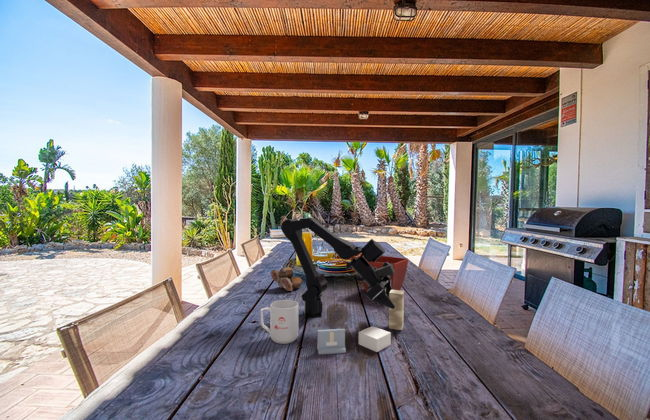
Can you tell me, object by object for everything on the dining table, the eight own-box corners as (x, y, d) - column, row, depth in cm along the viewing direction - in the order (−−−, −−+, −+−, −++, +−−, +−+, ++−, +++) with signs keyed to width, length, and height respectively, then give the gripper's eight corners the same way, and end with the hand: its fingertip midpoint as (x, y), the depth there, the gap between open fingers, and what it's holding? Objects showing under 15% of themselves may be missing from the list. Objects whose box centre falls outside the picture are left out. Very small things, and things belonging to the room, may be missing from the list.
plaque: (318, 354, 86) (318, 333, 86) (316, 347, 90) (317, 328, 90) (345, 352, 87) (346, 332, 87) (342, 346, 91) (343, 326, 91)
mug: (299, 333, 100) (299, 299, 100) (296, 345, 92) (297, 308, 91) (263, 332, 101) (263, 299, 100) (257, 344, 92) (257, 308, 92)
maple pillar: (388, 328, 105) (389, 292, 105) (390, 323, 109) (391, 289, 109) (401, 330, 104) (402, 294, 103) (403, 325, 108) (403, 290, 108)
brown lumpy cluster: (269, 272, 161) (268, 269, 147) (299, 264, 165) (300, 261, 151) (275, 296, 158) (274, 296, 144) (304, 288, 161) (307, 287, 147)
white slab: (358, 344, 93) (358, 331, 93) (372, 338, 98) (372, 325, 98) (377, 352, 88) (377, 339, 88) (390, 345, 93) (390, 332, 93)
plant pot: (374, 285, 162) (374, 254, 162) (408, 292, 151) (409, 258, 151) (356, 293, 146) (356, 259, 146) (393, 301, 135) (393, 264, 135)
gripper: (376, 260, 99) (410, 297, 96) (385, 252, 117) (414, 283, 113) (352, 281, 102) (385, 318, 99) (365, 271, 120) (393, 301, 116)
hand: (395, 304), depth 106 cm, fingers open, 9 cm apart
